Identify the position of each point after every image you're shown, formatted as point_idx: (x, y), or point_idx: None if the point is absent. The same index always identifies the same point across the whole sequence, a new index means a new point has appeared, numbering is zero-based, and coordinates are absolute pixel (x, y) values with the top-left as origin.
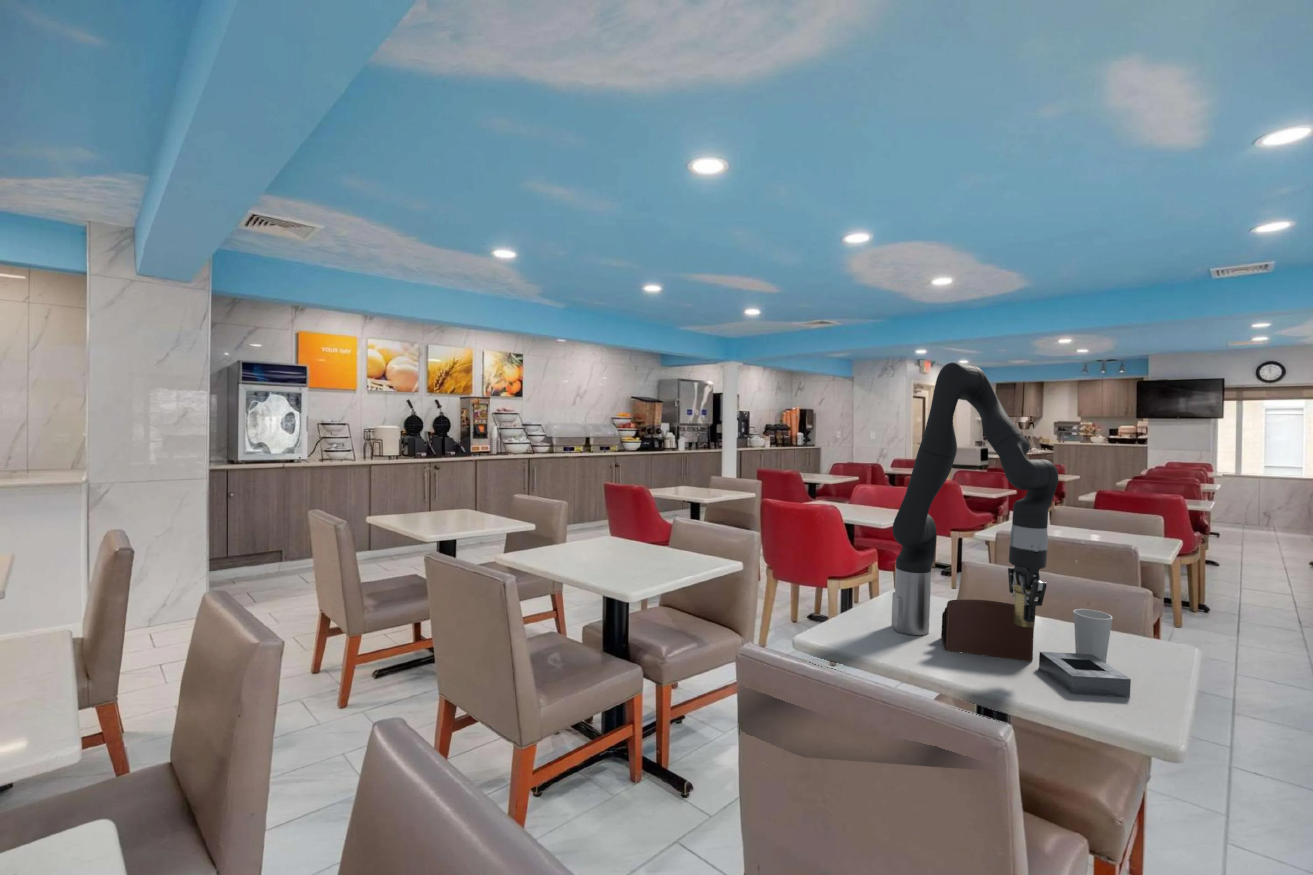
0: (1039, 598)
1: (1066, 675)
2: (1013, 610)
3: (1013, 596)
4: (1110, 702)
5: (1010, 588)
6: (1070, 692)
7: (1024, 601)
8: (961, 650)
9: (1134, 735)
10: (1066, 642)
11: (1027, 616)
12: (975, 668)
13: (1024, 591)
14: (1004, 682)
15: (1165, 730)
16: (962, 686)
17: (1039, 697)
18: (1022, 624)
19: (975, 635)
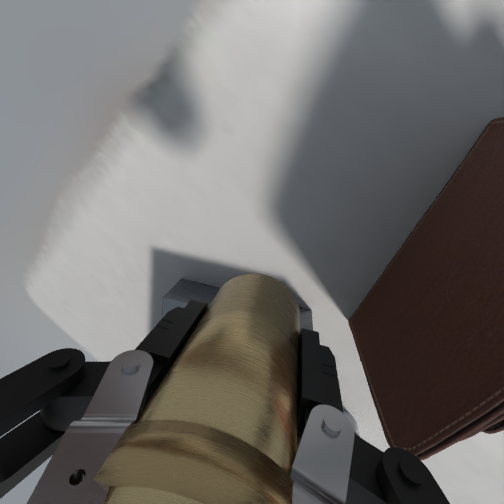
0: (24, 447)
1: (188, 297)
2: (269, 313)
3: (332, 413)
4: (151, 318)
5: (419, 495)
6: (183, 279)
7: (146, 373)
8: (460, 169)
9: (39, 260)
10: (440, 466)
11: (173, 317)
12: (328, 140)
13: (58, 451)
14: (234, 168)
15: (67, 318)
16: (208, 14)
17: (159, 199)
18: (220, 289)
19: (467, 218)
